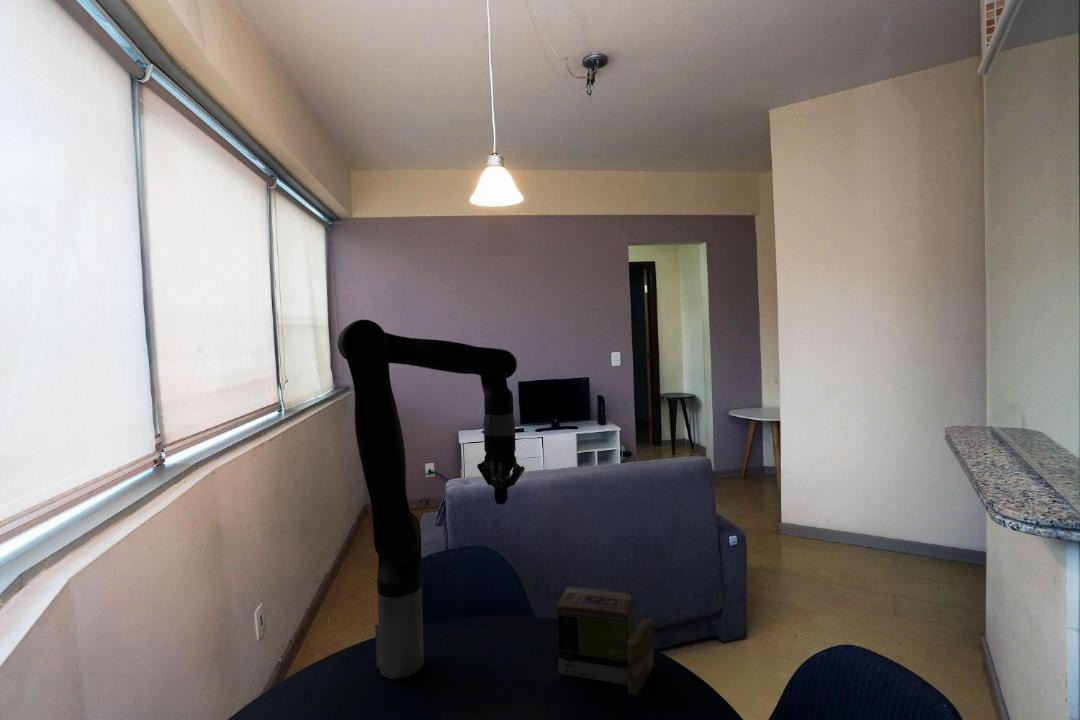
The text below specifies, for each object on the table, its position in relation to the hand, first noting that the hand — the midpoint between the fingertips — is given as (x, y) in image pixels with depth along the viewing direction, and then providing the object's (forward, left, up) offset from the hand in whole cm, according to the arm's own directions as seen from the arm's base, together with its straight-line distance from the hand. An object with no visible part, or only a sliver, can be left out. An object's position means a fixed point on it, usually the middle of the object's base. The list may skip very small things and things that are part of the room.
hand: (501, 503), depth 121 cm
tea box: (+26, -2, -31) cm, 40 cm away
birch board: (+35, -2, -31) cm, 47 cm away
